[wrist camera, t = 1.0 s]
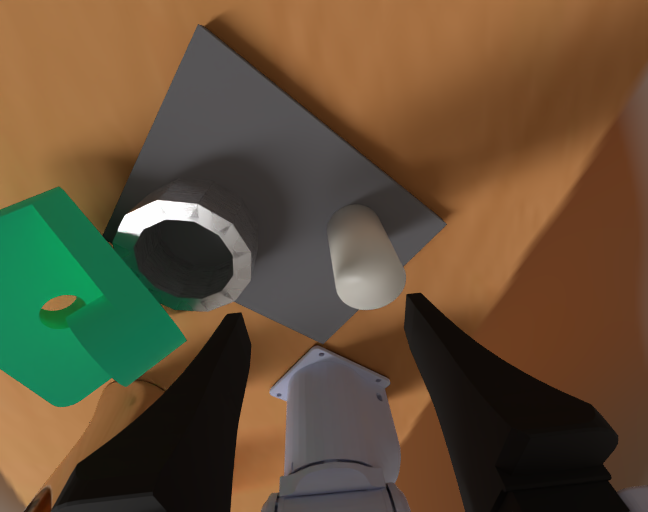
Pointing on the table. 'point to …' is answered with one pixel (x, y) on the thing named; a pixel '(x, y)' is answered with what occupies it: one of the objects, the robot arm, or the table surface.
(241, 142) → the mat
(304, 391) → the robot arm
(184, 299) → the sleeve
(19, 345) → the camera mount
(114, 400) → the beer glass
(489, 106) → the table surface
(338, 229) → the plug cap
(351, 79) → the table surface
